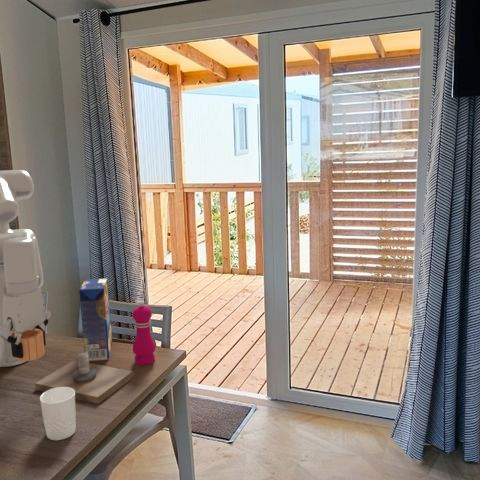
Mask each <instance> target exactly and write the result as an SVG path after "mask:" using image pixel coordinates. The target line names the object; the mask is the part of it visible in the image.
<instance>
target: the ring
mask: <svg viewBox="0 0 480 480" xmlns="http://www.w3.org/2000/svg"><path fill="white" fill-rule="evenodd" d="M16 335H17V334H16V333H15V336H14V338H16ZM20 343H22V347H23V358H17V357H15V358H16V360H18V361H26V362H30V361H34V360H39V359H41V358H42V357H43V356H44V355H45V352H46V351H45V346H44V340H43V331H42V330H40V329H36V328H35V327H33V328H31V329H29V330H27V331H25V332H23V333H22V336H21V340H20Z"/></svg>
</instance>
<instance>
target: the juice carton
mask: <svg viewBox="0 0 480 480" xmlns="http://www.w3.org/2000/svg"><path fill="white" fill-rule="evenodd" d="M108 280H109V279H108V278H107V277H105V278H95V279H93V278H92V279H84V280H83V282H82V283H81V286H80V288H79V290H78V291H79V302H80V313H81V314H80V316H81V324H82V337H83V346H84V347H83V348H84V353H88V355H89V362H93V361H104V360H110V357H111V352H112V349H113V335H112V322H111V309H110V295H109V282H108Z"/></svg>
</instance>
